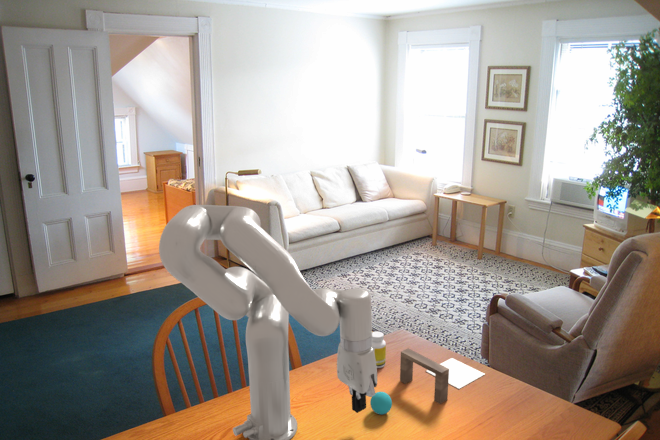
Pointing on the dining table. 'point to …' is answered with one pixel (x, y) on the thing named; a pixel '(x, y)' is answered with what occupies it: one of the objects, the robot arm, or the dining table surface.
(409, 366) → the bridge
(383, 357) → the supplement bottle
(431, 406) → the dining table surface
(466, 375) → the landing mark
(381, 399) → the ball
